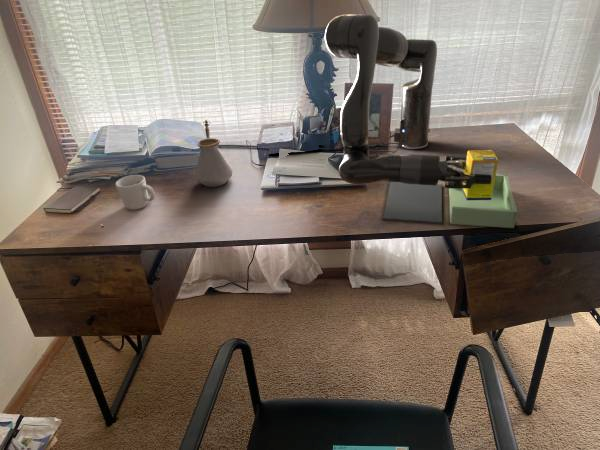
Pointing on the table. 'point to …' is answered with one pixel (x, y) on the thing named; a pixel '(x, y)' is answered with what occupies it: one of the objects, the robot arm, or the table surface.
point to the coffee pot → (212, 162)
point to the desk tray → (485, 207)
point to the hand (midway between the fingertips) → (489, 173)
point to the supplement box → (481, 165)
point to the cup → (134, 191)
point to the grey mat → (414, 203)
